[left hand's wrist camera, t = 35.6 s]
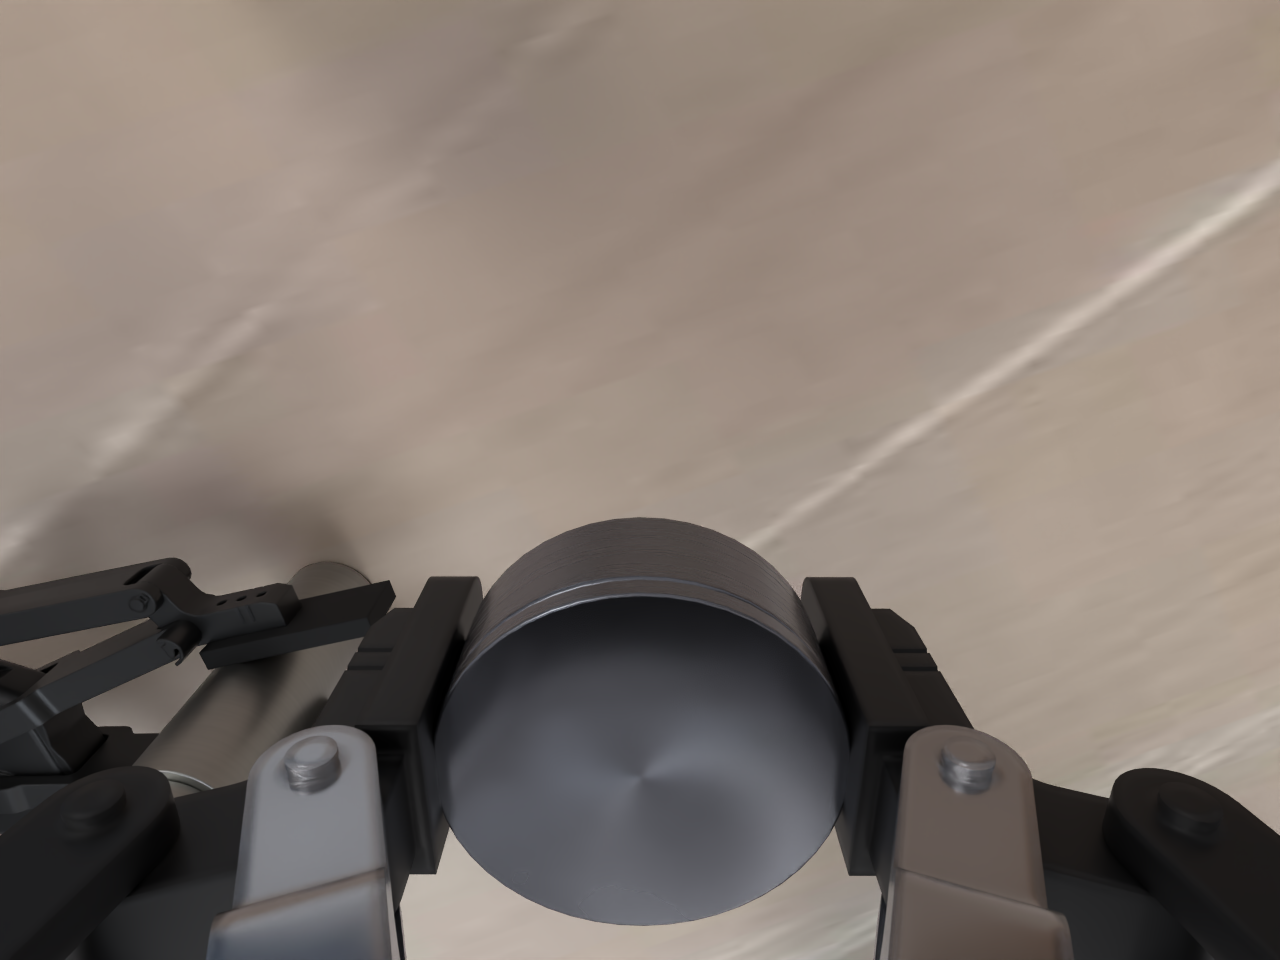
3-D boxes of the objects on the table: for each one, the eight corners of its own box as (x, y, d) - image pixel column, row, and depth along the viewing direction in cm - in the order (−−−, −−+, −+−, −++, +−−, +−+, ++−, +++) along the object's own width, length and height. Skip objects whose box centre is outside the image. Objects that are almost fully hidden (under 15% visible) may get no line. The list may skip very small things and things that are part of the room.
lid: (888, 615, 11) (939, 711, 9) (702, 852, 13) (712, 974, 11) (565, 449, 10) (548, 516, 8) (410, 728, 12) (366, 838, 10)
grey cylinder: (284, 628, 38) (66, 909, 24) (291, 552, 36) (62, 804, 22) (372, 647, 38) (209, 934, 24) (383, 572, 36) (216, 833, 22)
